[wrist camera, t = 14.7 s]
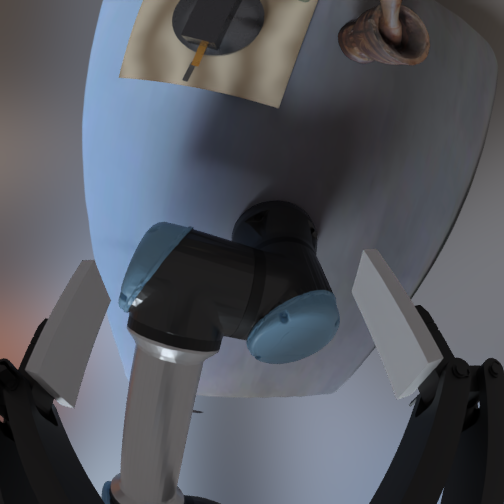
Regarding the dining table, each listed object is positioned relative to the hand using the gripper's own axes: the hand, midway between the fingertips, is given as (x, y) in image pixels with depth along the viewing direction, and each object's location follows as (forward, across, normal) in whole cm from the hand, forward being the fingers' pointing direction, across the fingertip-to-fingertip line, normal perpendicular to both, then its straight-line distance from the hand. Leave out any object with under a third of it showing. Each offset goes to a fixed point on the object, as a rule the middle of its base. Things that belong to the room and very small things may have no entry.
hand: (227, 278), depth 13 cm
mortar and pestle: (+32, +18, +18) cm, 41 cm away
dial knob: (+29, -2, +18) cm, 35 cm away
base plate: (+32, -1, +19) cm, 37 cm away
